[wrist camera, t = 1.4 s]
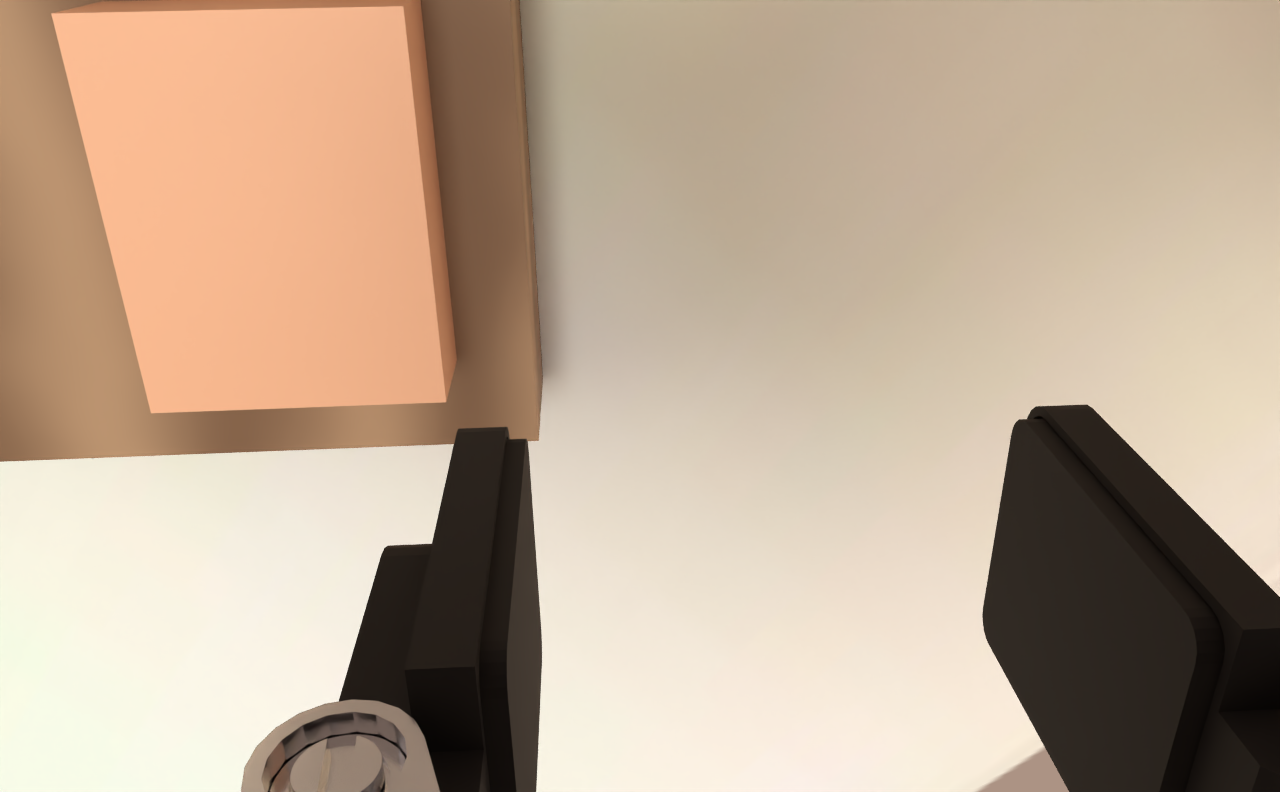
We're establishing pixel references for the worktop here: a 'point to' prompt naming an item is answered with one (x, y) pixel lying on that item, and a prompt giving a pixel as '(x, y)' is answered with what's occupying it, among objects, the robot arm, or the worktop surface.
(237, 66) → the peach flat block
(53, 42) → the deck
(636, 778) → the worktop surface
